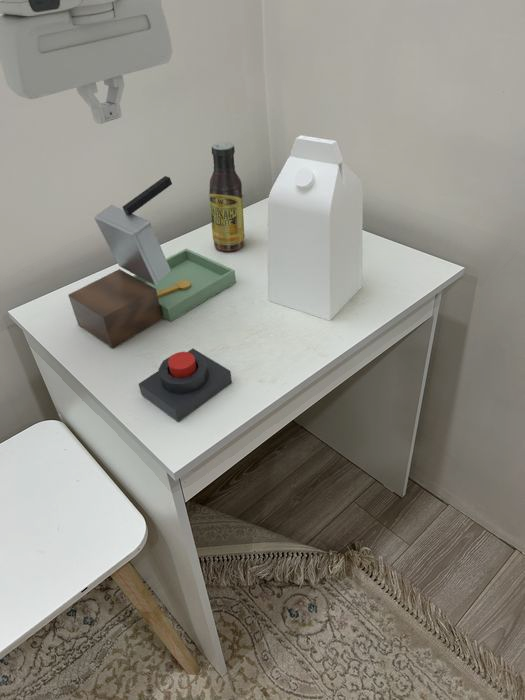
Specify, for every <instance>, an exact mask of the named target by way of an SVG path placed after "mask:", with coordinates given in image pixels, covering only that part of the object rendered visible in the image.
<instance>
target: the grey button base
mask: <svg viewBox="0 0 525 700" xmlns="http://www.w3.org/2000/svg"><path fill="white" fill-rule="evenodd" d="M187 352H189V353H191V354H193V356H194V358H195V363H196V371H195V373H194V374H192V375H191V376H188V377H184V378H175V377H173V376H172V375H171V373H170V369H169V365H168V360H169V358H170V357H171V356H172V355H170V356H169V357H166V358H165V359H164V360H162V362H161V364H160V366H159V368H158V369H157V371H155V372H154V373H153V374H151V375H149V376H148V377H147V378H145V379H143V380H142V381H140V382H139V383H138V387H139V392H140V394H141V396H142V397H143V398H145V399H146V400H147V401H149V402H150V403H151V404H153V405H154V406H155V407H157V408H158V409H160V410H161V411H162V412H164V413H165V414H166V415H168V416H169V417H171V418H172V419H174V421H176V422H177V423H179V422H181V421H182V420H183V419H184V418H186V417H187V416H188V415H190V414H191V413H193V412H194V411H195V410H197V409H198V408H199V407H201V406H202V405H204V404H205V403H206V402H207V401H209V400H211V398H213V397H214V396H216V395H217V394H218V393H220V392H221V391H223V390H224V389H225V388H227V387H228V386H229V385H230V384H232V383H233V380H232V372H231V370H229V368H227V367H225V366H224V365H221V364H220V363H218V362H216V361H215V360H214V359H212V358H210V357H208V356H207V355H205V354H203V353H202V352H201V351H198V350H197V349H195V348H191V349H190V350H188V351H187Z"/></svg>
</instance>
